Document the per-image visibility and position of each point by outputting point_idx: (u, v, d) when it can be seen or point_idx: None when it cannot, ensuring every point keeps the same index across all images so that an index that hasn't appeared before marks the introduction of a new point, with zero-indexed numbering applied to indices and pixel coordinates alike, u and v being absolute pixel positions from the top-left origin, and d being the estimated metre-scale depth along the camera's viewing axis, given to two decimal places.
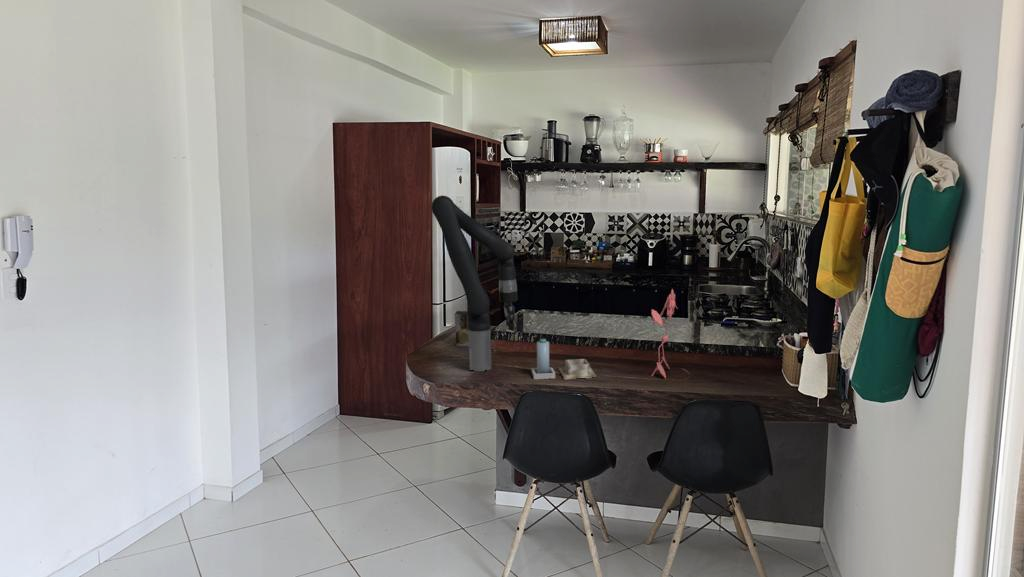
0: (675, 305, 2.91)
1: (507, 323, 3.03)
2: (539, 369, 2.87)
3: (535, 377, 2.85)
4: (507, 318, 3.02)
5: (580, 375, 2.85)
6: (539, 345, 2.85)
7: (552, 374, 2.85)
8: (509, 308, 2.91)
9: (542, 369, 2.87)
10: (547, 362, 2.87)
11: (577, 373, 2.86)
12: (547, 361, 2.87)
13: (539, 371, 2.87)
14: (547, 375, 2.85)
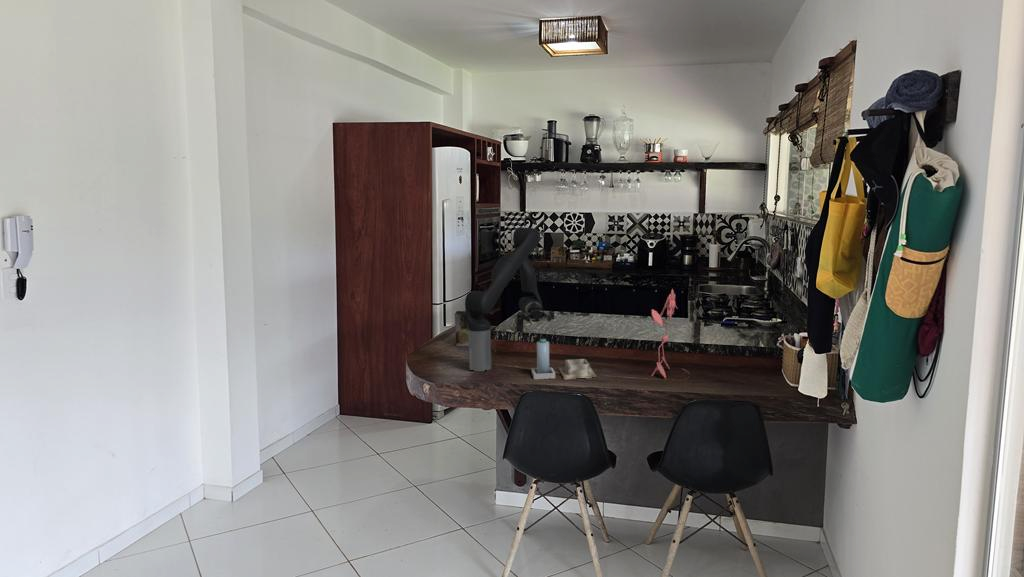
0: (675, 305, 2.91)
1: (529, 317, 2.98)
2: (539, 369, 2.87)
3: (535, 377, 2.85)
4: (528, 317, 3.00)
5: (580, 375, 2.85)
6: (539, 345, 2.85)
7: (552, 374, 2.85)
8: None
9: (542, 369, 2.87)
10: (547, 362, 2.87)
11: (577, 373, 2.86)
12: (547, 361, 2.87)
13: (539, 371, 2.87)
14: (547, 375, 2.85)
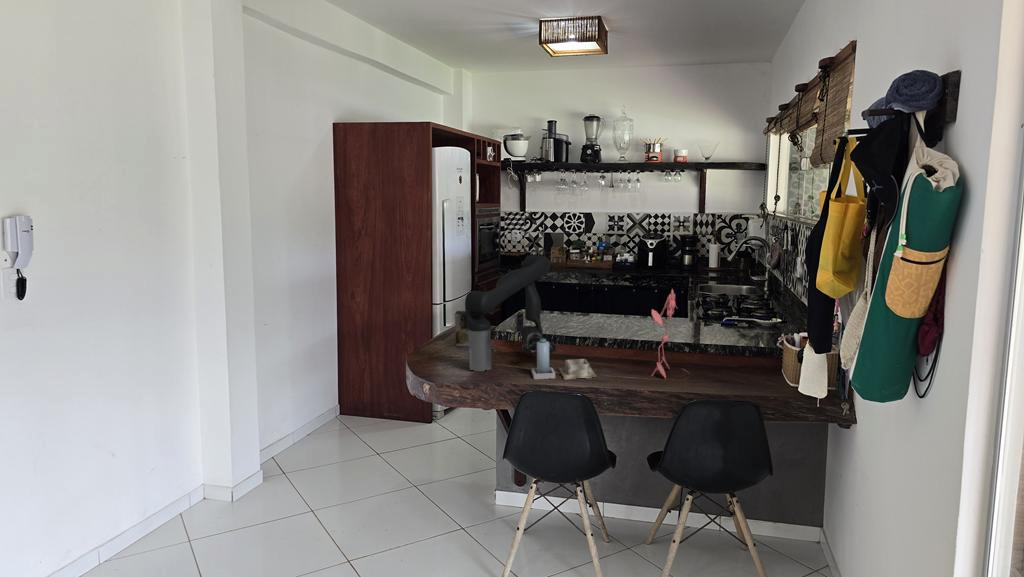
0: (675, 305, 2.91)
1: (531, 350, 2.96)
2: (539, 369, 2.87)
3: (535, 377, 2.85)
4: None
5: (580, 375, 2.85)
6: (539, 345, 2.85)
7: (552, 374, 2.85)
8: None
9: (542, 369, 2.87)
10: (547, 362, 2.87)
11: (577, 373, 2.86)
12: (547, 361, 2.87)
13: (539, 371, 2.87)
14: (547, 375, 2.85)
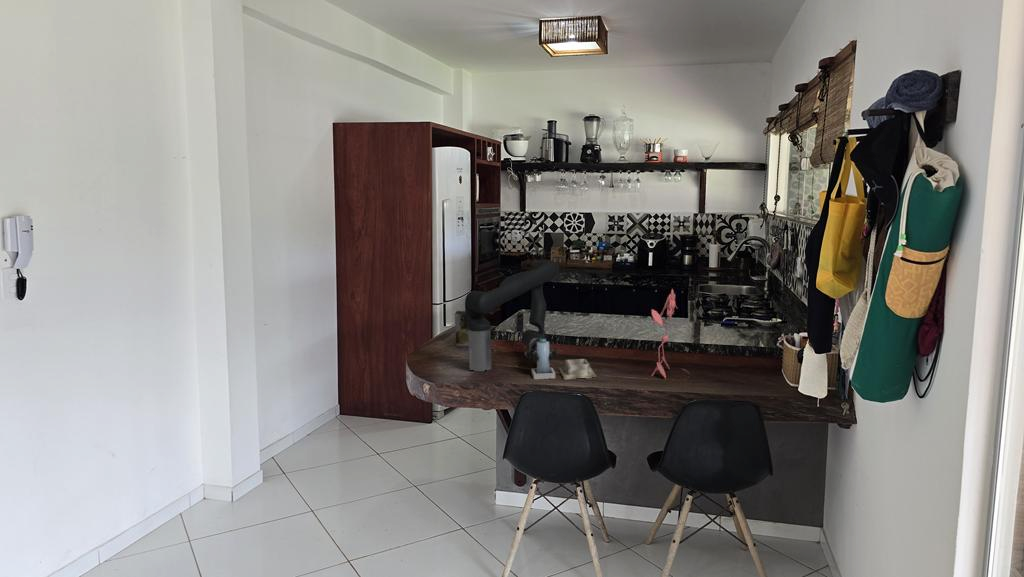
0: (675, 305, 2.91)
1: (537, 356, 2.86)
2: (539, 369, 2.87)
3: (535, 377, 2.85)
4: (536, 355, 2.89)
5: (580, 375, 2.85)
6: (539, 345, 2.85)
7: (552, 374, 2.85)
8: None
9: (542, 369, 2.87)
10: (547, 362, 2.87)
11: (577, 373, 2.86)
12: (547, 361, 2.87)
13: (539, 371, 2.87)
14: (547, 375, 2.85)
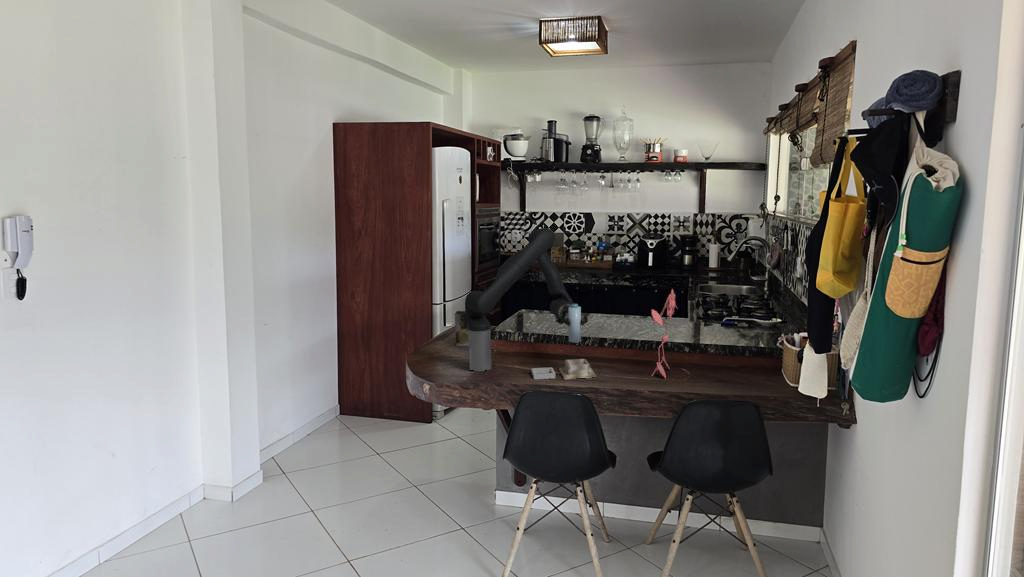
0: (675, 305, 2.91)
1: (569, 321, 2.85)
2: (571, 334, 2.86)
3: (535, 377, 2.85)
4: (568, 320, 2.88)
5: (580, 375, 2.85)
6: (571, 310, 2.84)
7: (552, 374, 2.85)
8: (587, 315, 2.94)
9: (573, 334, 2.86)
10: (579, 327, 2.86)
11: (577, 373, 2.86)
12: (579, 326, 2.86)
13: (571, 336, 2.86)
14: (547, 375, 2.85)
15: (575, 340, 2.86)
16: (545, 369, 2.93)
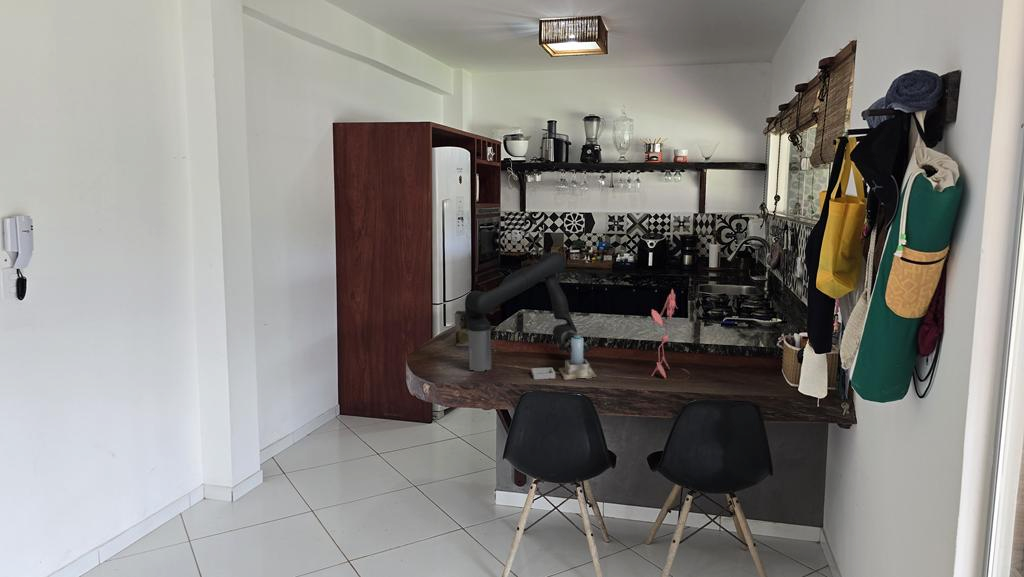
0: (675, 305, 2.91)
1: (569, 348, 2.87)
2: None
3: (535, 377, 2.85)
4: (568, 347, 2.90)
5: (580, 375, 2.85)
6: (574, 341, 2.86)
7: (552, 374, 2.85)
8: None
9: None
10: (581, 358, 2.88)
11: (577, 373, 2.86)
12: (581, 357, 2.88)
13: None
14: (547, 375, 2.85)
15: None
16: (545, 369, 2.93)
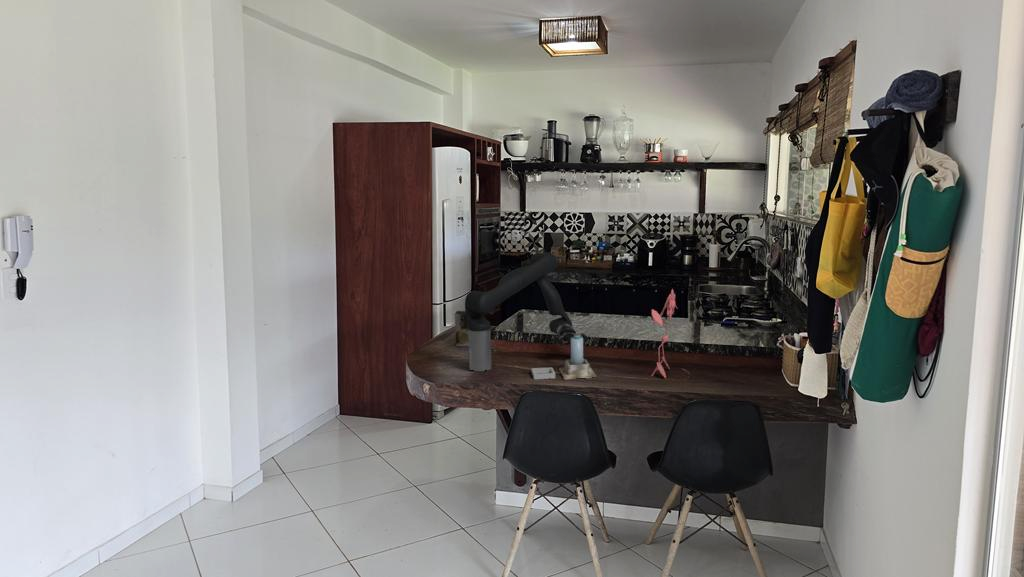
0: (675, 305, 2.91)
1: (562, 340, 3.00)
2: None
3: (535, 377, 2.85)
4: None
5: (580, 375, 2.85)
6: (573, 341, 2.86)
7: (552, 374, 2.85)
8: None
9: None
10: (581, 358, 2.88)
11: (577, 373, 2.86)
12: (581, 357, 2.88)
13: None
14: (547, 375, 2.85)
15: None
16: (545, 369, 2.93)
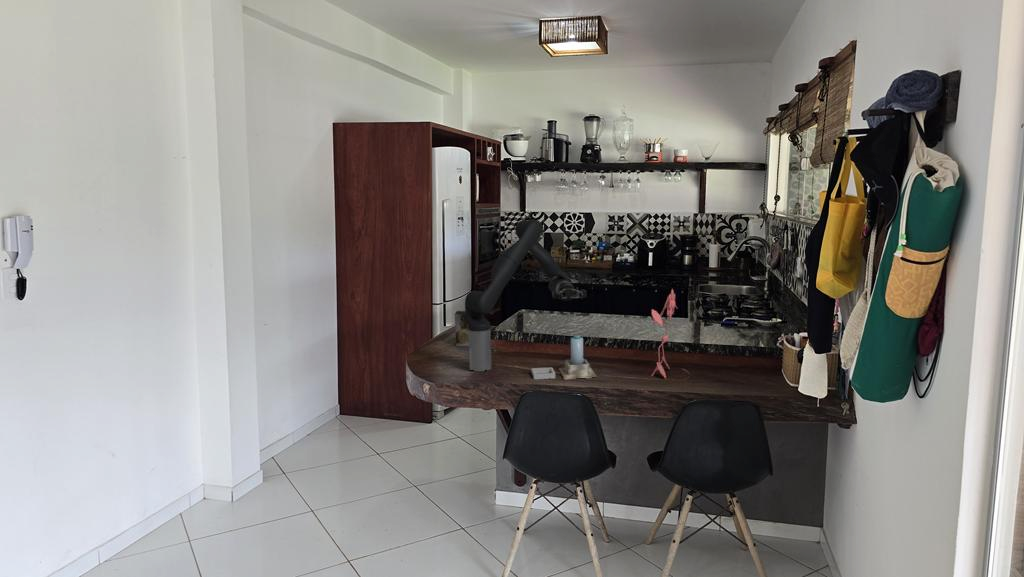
0: (675, 305, 2.91)
1: (562, 295, 2.97)
2: None
3: (535, 377, 2.85)
4: None
5: (580, 375, 2.85)
6: (573, 341, 2.86)
7: (552, 374, 2.85)
8: None
9: None
10: (581, 358, 2.88)
11: (577, 373, 2.86)
12: (581, 357, 2.88)
13: None
14: (547, 375, 2.85)
15: None
16: (545, 369, 2.93)
